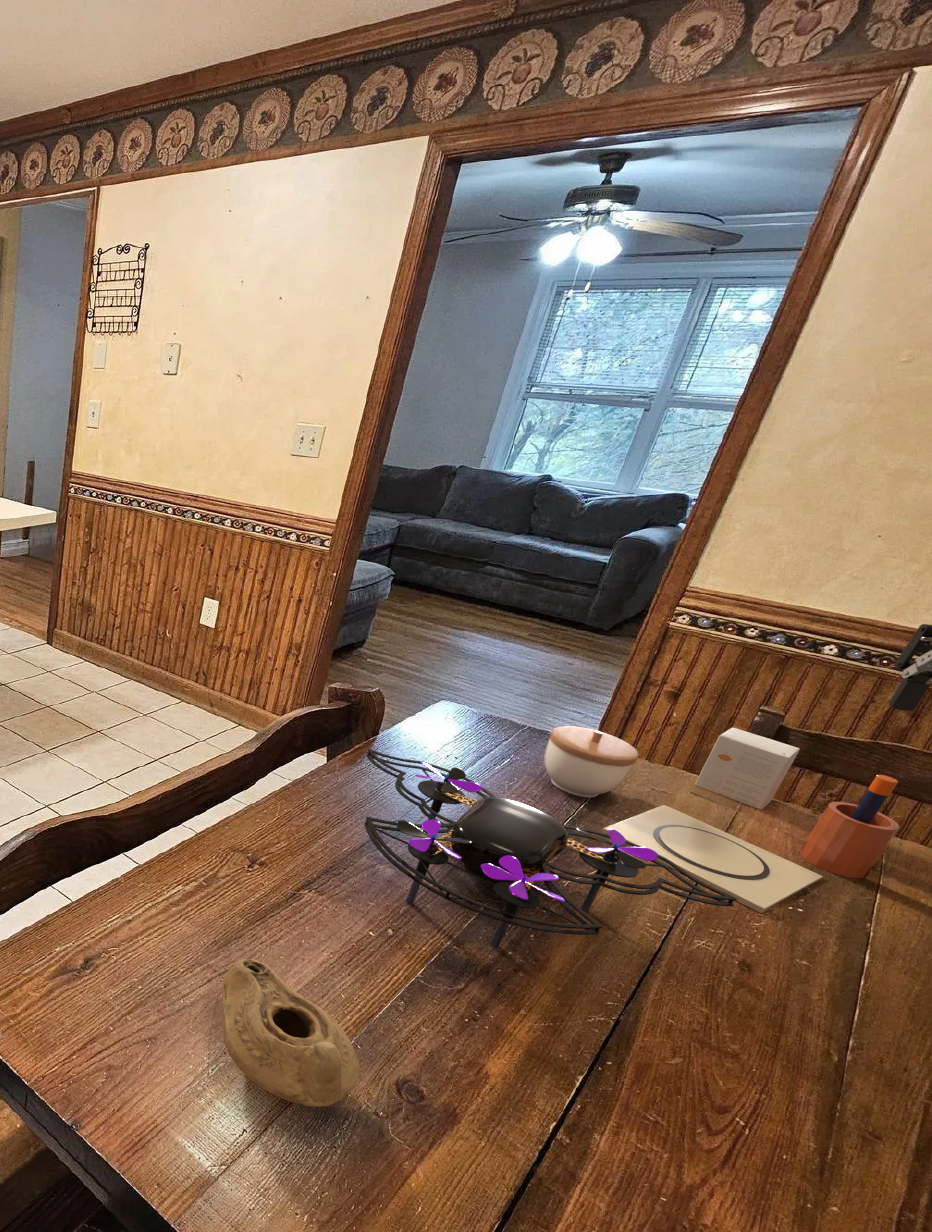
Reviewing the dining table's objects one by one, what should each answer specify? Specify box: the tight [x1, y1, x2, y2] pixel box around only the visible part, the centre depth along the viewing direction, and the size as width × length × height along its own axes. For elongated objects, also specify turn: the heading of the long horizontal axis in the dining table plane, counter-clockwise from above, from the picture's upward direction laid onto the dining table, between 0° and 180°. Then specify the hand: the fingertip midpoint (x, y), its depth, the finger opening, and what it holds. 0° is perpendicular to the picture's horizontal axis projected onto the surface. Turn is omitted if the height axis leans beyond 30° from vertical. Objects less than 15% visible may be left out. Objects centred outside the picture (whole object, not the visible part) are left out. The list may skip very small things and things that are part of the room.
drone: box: [363, 748, 737, 949], centre depth 91 cm, size 40×10×28 cm
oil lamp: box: [221, 958, 360, 1108], centre depth 69 cm, size 11×15×8 cm
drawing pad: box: [601, 804, 824, 914], centre depth 104 cm, size 16×18×1 cm
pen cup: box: [799, 801, 900, 879], centre depth 102 cm, size 6×6×8 cm
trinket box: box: [543, 725, 640, 798], centre depth 117 cm, size 11×11×9 cm
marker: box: [850, 774, 899, 824], centre depth 101 cm, size 2×2×13 cm
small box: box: [689, 727, 800, 810], centre depth 115 cm, size 8×6×10 cm
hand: (924, 722), depth 94 cm, fingers open, 8 cm apart
